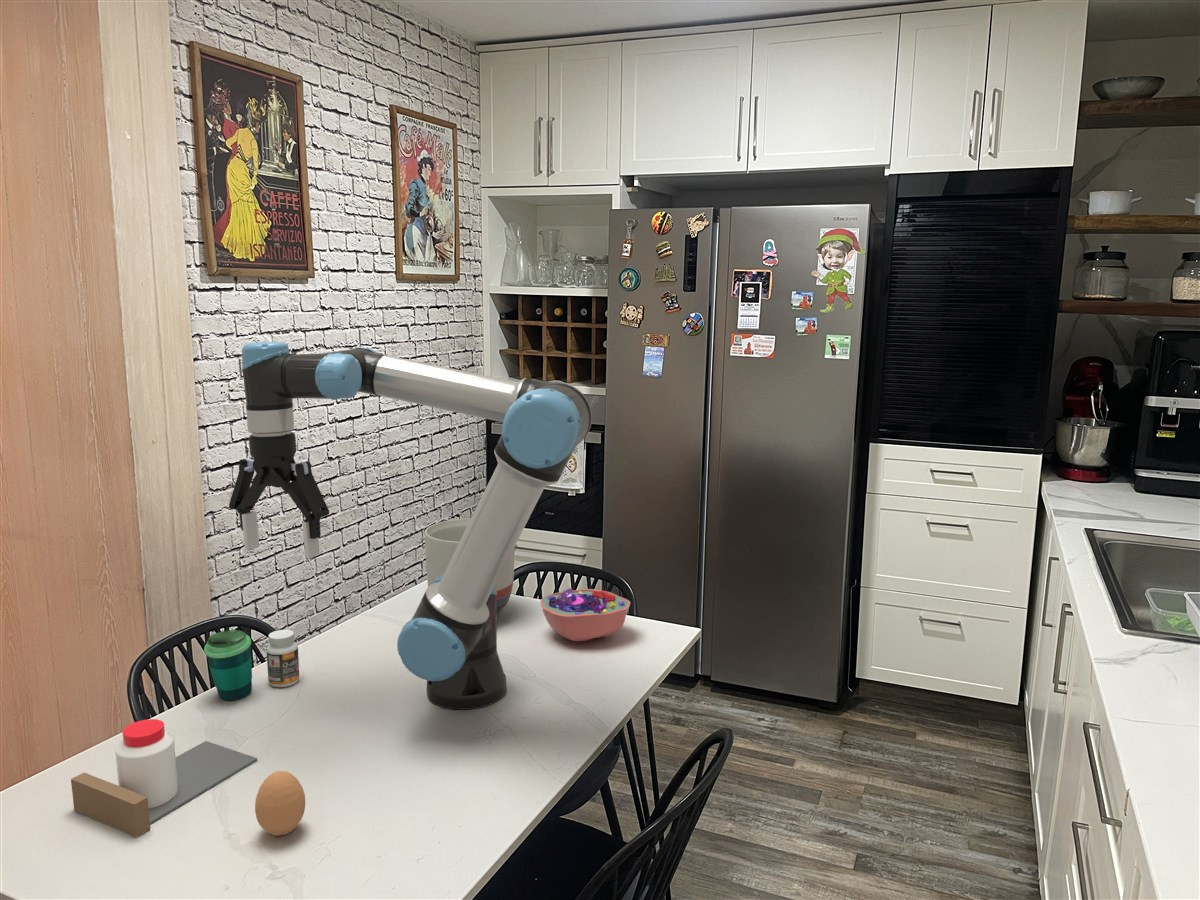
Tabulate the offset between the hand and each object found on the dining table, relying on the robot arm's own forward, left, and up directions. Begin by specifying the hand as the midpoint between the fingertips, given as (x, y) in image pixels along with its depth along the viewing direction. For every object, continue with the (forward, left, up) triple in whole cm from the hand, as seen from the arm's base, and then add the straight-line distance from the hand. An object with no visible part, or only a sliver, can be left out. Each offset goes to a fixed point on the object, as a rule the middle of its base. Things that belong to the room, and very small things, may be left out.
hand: (281, 552), depth 151 cm
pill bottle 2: (+10, -8, -30) cm, 33 cm away
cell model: (-32, -55, -30) cm, 71 cm away
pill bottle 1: (-2, +30, -30) cm, 42 cm away
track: (-2, +25, -30) cm, 39 cm away
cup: (+14, +1, -30) cm, 33 cm away
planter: (-3, -53, -30) cm, 61 cm away
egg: (-26, +27, -30) cm, 48 cm away
